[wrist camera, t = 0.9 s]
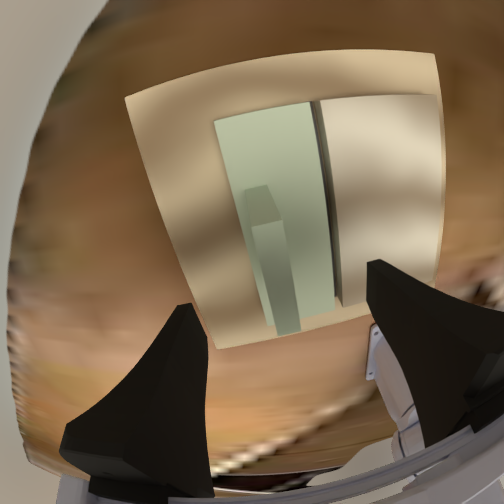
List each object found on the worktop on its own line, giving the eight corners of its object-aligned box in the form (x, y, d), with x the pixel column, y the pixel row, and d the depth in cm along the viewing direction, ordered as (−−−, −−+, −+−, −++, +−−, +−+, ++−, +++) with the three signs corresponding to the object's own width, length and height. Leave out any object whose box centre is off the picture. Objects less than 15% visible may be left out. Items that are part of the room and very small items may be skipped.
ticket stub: (330, 299, 21) (357, 361, 16) (265, 315, 21) (276, 382, 16) (303, 102, 14) (345, 102, 9) (214, 120, 14) (204, 128, 9)
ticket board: (425, 283, 23) (441, 302, 21) (217, 337, 24) (216, 363, 22) (422, 55, 14) (447, 52, 11) (132, 97, 15) (114, 97, 12)
